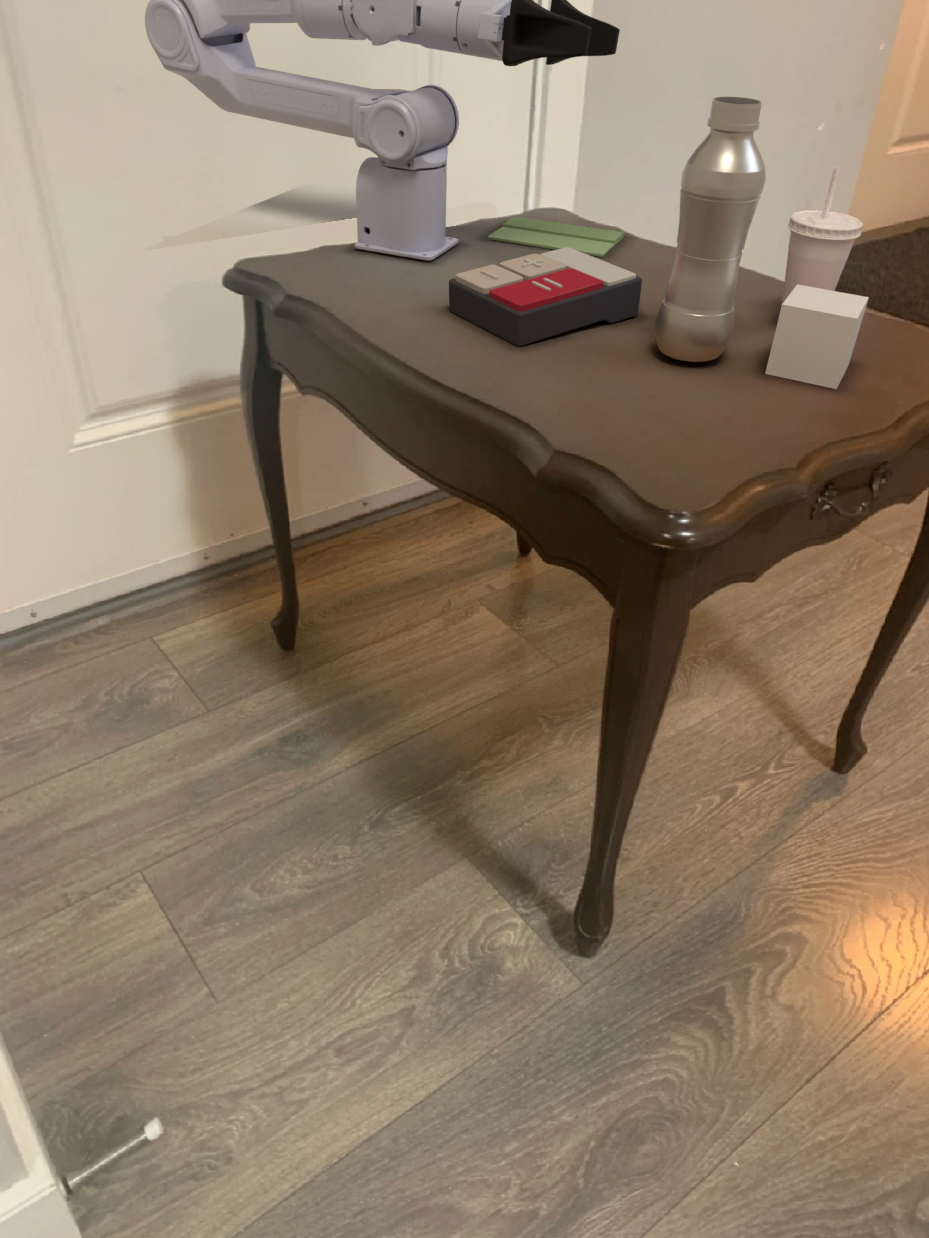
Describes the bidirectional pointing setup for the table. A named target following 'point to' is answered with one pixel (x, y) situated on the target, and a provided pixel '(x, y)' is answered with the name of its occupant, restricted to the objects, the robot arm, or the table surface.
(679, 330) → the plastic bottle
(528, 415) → the table surface
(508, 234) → the cloth
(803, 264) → the smoothie
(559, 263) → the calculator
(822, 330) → the off-white cube
